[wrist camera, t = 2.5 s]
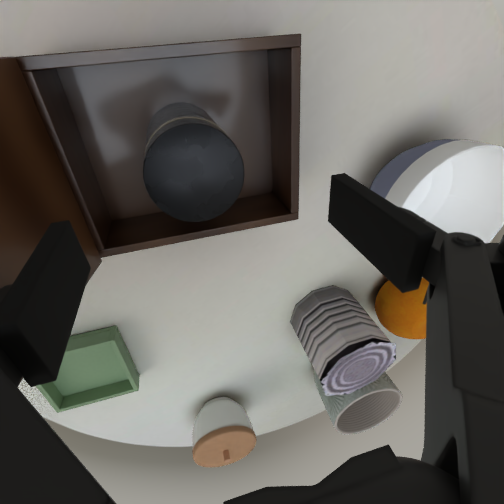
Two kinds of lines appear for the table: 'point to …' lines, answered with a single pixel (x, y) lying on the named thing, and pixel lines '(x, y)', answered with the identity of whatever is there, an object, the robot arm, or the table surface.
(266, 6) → the table surface
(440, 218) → the bowl
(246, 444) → the trinket box
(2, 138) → the lid
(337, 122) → the table surface
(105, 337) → the tray
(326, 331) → the can
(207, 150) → the black canister
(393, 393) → the planter
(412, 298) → the fruit
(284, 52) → the chest
